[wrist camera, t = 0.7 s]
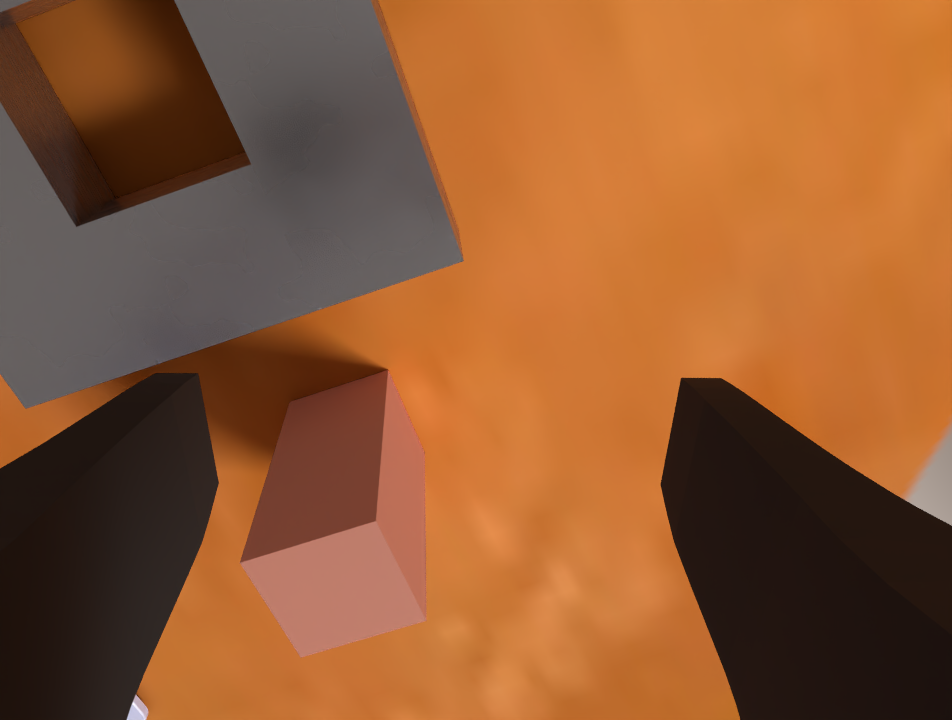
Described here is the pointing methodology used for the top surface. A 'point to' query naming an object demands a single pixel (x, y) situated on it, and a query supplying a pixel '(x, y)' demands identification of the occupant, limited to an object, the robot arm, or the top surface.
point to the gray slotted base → (214, 199)
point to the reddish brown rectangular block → (342, 518)
